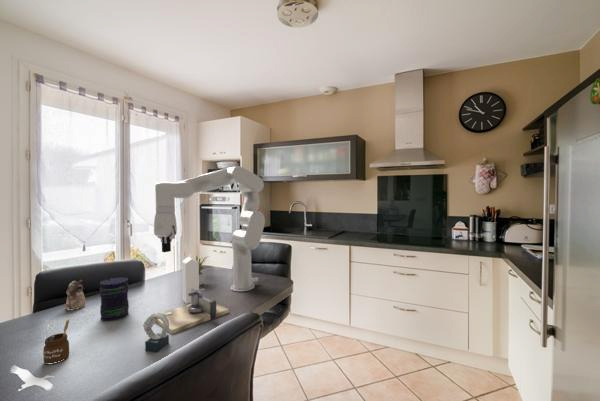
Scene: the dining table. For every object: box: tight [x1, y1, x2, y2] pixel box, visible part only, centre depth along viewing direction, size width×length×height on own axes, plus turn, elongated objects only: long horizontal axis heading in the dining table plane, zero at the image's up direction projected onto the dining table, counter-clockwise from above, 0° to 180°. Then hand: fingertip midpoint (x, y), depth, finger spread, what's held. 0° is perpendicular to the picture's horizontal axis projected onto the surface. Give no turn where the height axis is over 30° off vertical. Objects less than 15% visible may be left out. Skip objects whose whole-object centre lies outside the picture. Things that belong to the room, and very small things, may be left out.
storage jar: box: [99, 276, 130, 322], centre depth 115 cm, size 10×10×15 cm
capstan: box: [188, 288, 218, 320], centre depth 114 cm, size 18×8×8 cm, turn 49°
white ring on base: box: [142, 312, 170, 353], centre depth 91 cm, size 6×8×11 cm
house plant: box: [195, 255, 210, 286], centre depth 157 cm, size 14×14×16 cm
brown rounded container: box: [42, 318, 70, 364], centre depth 85 cm, size 6×6×12 cm
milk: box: [181, 253, 200, 305], centre depth 131 cm, size 6×6×22 cm
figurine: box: [64, 279, 86, 310], centre depth 124 cm, size 7×7×12 cm
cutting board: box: [155, 303, 229, 335], centre depth 115 cm, size 24×18×2 cm
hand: (166, 251), depth 122 cm, fingers closed
